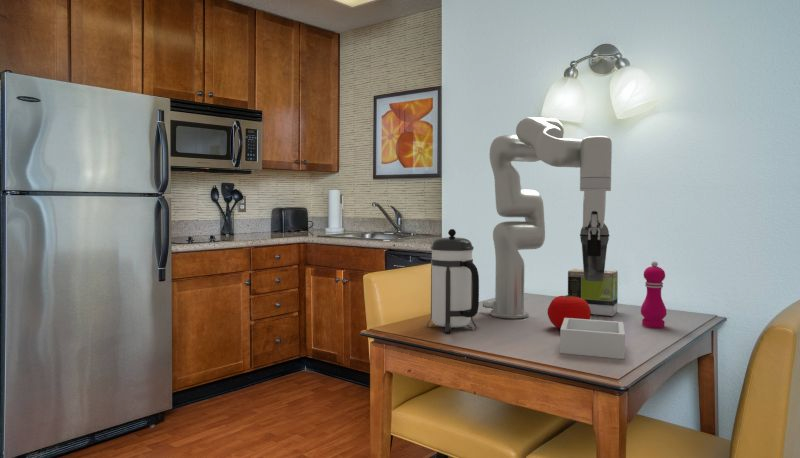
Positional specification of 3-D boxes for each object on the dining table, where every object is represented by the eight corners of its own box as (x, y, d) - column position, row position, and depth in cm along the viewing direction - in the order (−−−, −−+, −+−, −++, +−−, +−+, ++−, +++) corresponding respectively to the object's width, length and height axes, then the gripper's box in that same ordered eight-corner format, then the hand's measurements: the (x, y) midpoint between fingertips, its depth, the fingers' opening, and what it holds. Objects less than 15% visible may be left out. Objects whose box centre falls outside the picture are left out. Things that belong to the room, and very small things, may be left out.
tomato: (540, 326, 165) (541, 292, 165) (573, 323, 170) (573, 290, 169) (564, 335, 155) (564, 298, 154) (598, 331, 159) (599, 296, 158)
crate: (560, 353, 136) (560, 329, 136) (564, 339, 150) (564, 317, 150) (624, 359, 131) (625, 334, 131) (622, 344, 145) (623, 322, 145)
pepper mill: (669, 329, 162) (670, 262, 162) (643, 328, 164) (644, 262, 163) (662, 323, 170) (664, 260, 169) (637, 322, 171) (639, 259, 170)
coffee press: (419, 332, 158) (419, 229, 156) (434, 321, 173) (435, 227, 171) (477, 337, 152) (478, 230, 150) (488, 325, 167) (489, 228, 165)
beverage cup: (574, 278, 143) (575, 202, 142) (600, 278, 143) (602, 202, 143) (586, 282, 136) (587, 202, 135) (614, 281, 136) (615, 202, 135)
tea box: (617, 312, 188) (618, 269, 188) (612, 317, 180) (613, 273, 179) (573, 307, 196) (574, 267, 195) (566, 312, 188) (567, 270, 187)
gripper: (581, 186, 148) (580, 251, 149) (578, 184, 132) (577, 257, 132) (610, 186, 145) (609, 252, 146) (611, 183, 129) (610, 258, 130)
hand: (594, 254), depth 139 cm, fingers closed on beverage cup, 6 cm apart
